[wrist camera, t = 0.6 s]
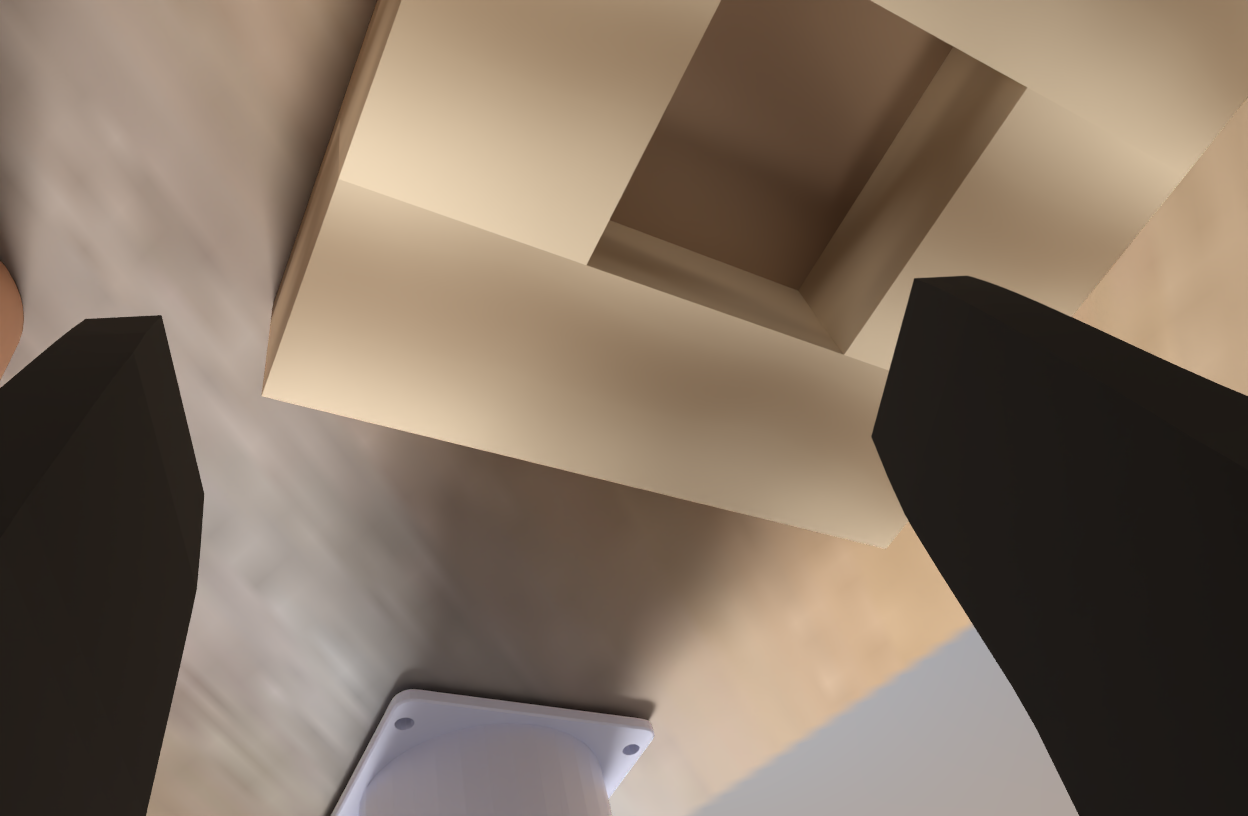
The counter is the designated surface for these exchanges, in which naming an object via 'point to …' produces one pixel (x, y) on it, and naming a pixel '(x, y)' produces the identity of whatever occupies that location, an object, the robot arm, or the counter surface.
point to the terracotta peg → (9, 317)
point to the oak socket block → (719, 219)
